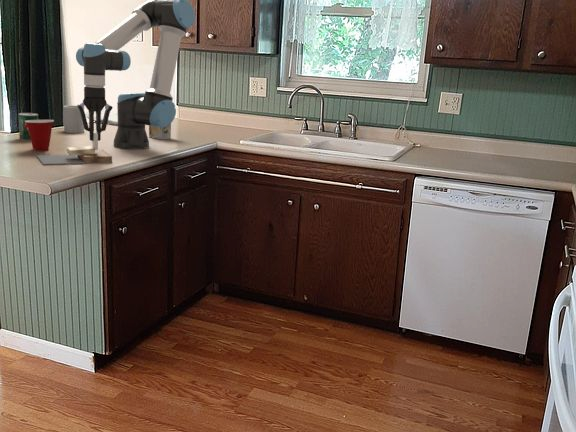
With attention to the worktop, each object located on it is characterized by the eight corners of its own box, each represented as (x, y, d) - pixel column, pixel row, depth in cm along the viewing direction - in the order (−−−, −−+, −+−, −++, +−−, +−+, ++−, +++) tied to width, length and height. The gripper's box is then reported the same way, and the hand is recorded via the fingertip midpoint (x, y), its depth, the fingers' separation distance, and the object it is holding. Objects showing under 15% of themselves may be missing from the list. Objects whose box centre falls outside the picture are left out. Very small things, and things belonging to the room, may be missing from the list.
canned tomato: (32, 141, 258) (31, 115, 255) (15, 139, 260) (14, 113, 257) (42, 139, 266) (41, 114, 263) (26, 137, 267) (25, 112, 264)
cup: (80, 133, 288) (79, 108, 285) (61, 132, 288) (60, 106, 285) (86, 130, 297) (86, 106, 294) (68, 129, 297) (67, 105, 294)
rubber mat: (75, 156, 235) (75, 154, 235) (83, 164, 222) (83, 162, 222) (36, 156, 228) (36, 155, 228) (43, 165, 215) (43, 163, 215)
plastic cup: (42, 146, 250) (41, 117, 246) (60, 149, 245) (59, 120, 242) (19, 148, 240) (18, 118, 237) (38, 152, 236) (37, 122, 232)
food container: (97, 114, 340) (94, 105, 336) (137, 123, 327) (135, 114, 323) (82, 124, 332) (79, 115, 328) (124, 134, 319) (121, 124, 316)
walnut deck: (103, 155, 239) (103, 149, 239) (112, 162, 228) (112, 156, 227) (77, 156, 234) (77, 150, 234) (84, 163, 223) (84, 156, 222)
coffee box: (171, 138, 294) (172, 105, 289) (163, 139, 288) (163, 106, 284) (156, 136, 297) (157, 103, 293) (148, 137, 292) (148, 103, 288)
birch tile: (91, 151, 233) (91, 146, 232) (95, 153, 228) (94, 148, 227) (67, 152, 228) (66, 147, 228) (70, 155, 223) (70, 150, 223)
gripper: (109, 86, 230) (109, 147, 236) (74, 84, 224) (75, 147, 230) (114, 88, 224) (114, 150, 230) (78, 86, 217) (79, 151, 224)
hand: (95, 149), depth 230 cm, fingers closed
